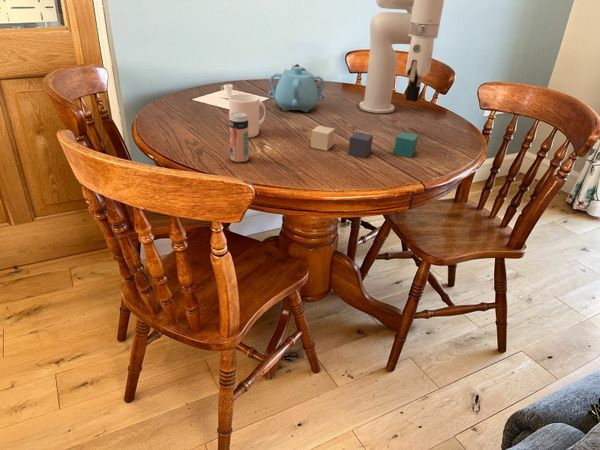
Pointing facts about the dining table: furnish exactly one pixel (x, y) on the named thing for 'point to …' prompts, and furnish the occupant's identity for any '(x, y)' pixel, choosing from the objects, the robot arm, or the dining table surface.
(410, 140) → the teal block
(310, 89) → the decorative pot
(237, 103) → the mug
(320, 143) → the cream block
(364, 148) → the slate block
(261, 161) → the dining table surface
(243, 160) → the supplement bottle
